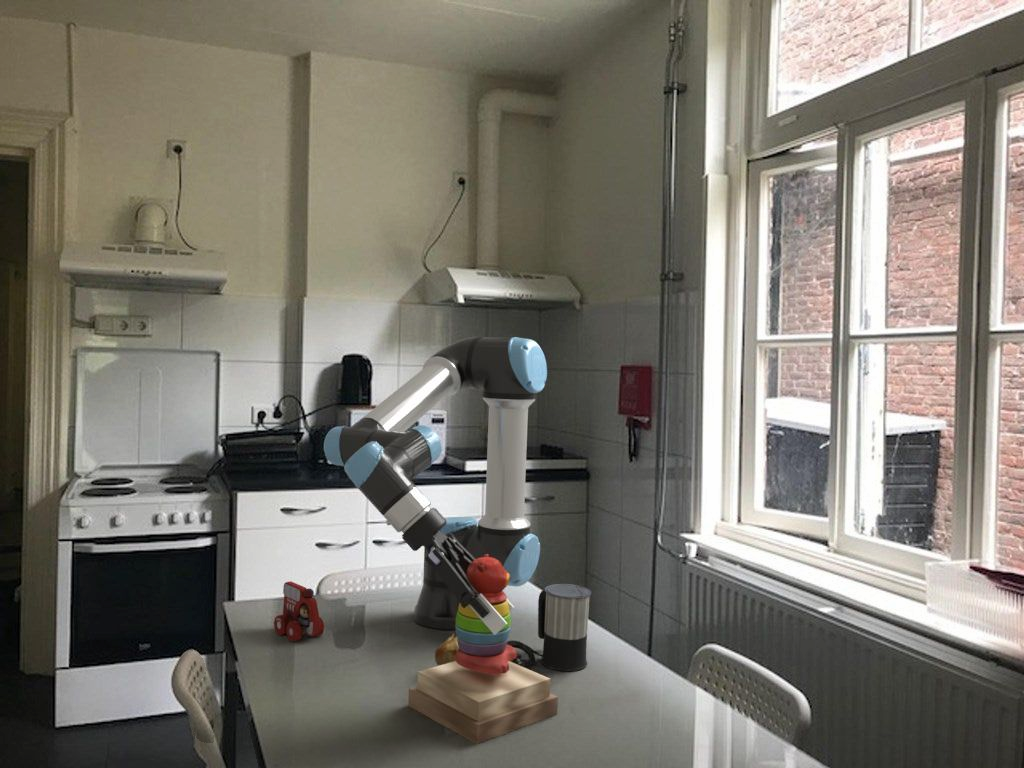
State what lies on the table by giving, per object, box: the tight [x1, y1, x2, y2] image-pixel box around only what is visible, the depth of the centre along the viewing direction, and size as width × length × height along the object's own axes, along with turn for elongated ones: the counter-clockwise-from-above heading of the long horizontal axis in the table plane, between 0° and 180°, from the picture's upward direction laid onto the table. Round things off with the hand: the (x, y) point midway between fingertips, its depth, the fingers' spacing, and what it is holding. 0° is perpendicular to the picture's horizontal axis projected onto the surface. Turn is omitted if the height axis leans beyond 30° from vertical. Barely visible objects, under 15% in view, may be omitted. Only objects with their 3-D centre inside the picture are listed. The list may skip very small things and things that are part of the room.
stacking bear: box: [455, 554, 518, 674], centre depth 141 cm, size 11×10×18 cm
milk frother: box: [507, 583, 592, 672], centre depth 164 cm, size 14×16×15 cm
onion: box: [434, 631, 459, 666], centre depth 158 cm, size 8×8×8 cm
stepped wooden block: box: [407, 661, 559, 745], centre depth 141 cm, size 18×18×6 cm
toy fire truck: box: [273, 580, 325, 643], centre depth 175 cm, size 7×12×10 cm, turn 45°
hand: (504, 620), depth 140 cm, fingers closed on stacking bear, 9 cm apart
